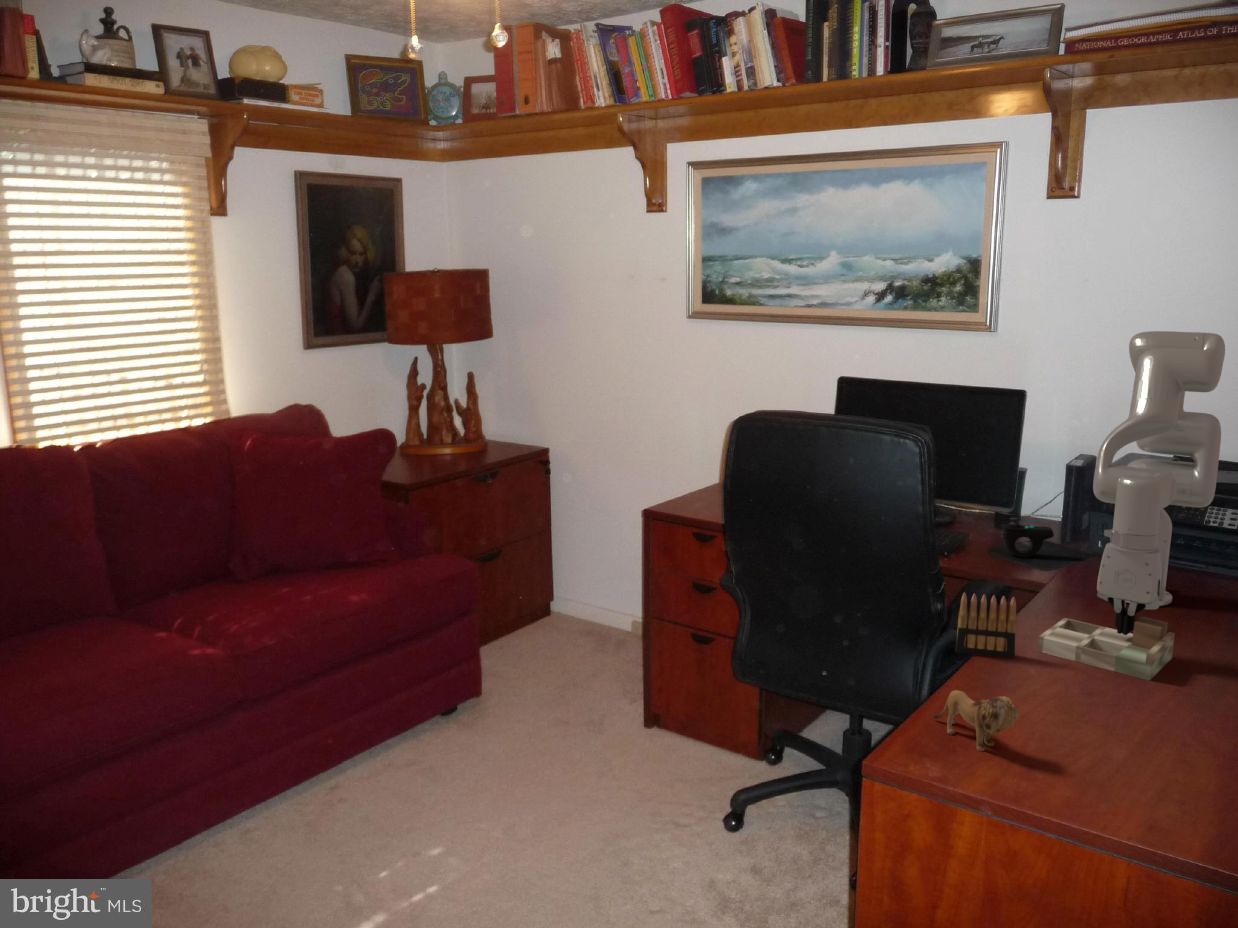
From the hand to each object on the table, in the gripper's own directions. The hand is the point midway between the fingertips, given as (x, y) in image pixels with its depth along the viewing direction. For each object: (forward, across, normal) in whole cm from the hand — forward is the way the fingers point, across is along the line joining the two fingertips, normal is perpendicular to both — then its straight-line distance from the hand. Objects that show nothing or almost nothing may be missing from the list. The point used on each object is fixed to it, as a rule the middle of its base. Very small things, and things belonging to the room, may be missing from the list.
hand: (1124, 632), depth 186 cm
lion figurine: (+5, -5, -53) cm, 53 cm away
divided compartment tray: (+4, -2, -3) cm, 6 cm away
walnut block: (+1, +4, 0) cm, 5 cm away
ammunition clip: (+5, -19, -18) cm, 27 cm away
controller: (+4, -39, +50) cm, 64 cm away
